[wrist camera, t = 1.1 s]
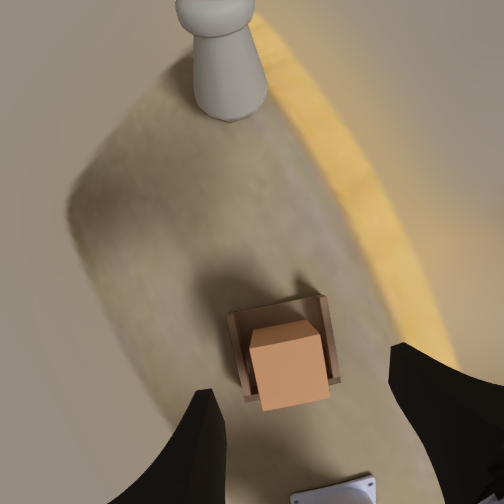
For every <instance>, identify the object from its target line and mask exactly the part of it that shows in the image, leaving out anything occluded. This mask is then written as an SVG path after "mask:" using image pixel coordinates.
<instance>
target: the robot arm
mask: <svg viewBox="0 0 504 504" xmlns="http://www.w3.org/2000/svg"><path fill="white" fill-rule="evenodd" d="M388 383H389V386H390V388H391V390H392V393H393V395H394V397H395V399H396V401H397V403H398V405H399V406H400V408H401V409H402V411H403V413H404V414H405V416H406V417H407V419H408V421H409V422H410V424H411V425H412V427H413V428H414V430H415V432H416V433H417V435H418V436H419V438H420V440H421V442H422V443H423V445H424V447H425V449H426V452H427V454H428V456H429V459H430V461H431V463H432V466H433V468H434V471H435V473H436V476H437V479H438V481H439V484H440V487H441V490H442V494H443V497H444V500H445V504H504V386H501V385H497V384H492V383H489V382H485V381H482V380H479V379H476V378H473V377H470V376H468V375H466V374H463V373H461V372H459V371H457V370H454V369H452V368H450V367H448V366H446V365H444V364H442V363H440V362H438V361H437V360H435V359H433V358H431V357H429V356H428V355H426V354H424V353H422V352H421V351H419V350H417V349H415V348H414V347H412V346H410V345H408V344H406V343H404V342H403V343H400V344H397V345H394V346H391V353H390V367H389V380H388ZM226 447H227V442H226V430H225V421H224V419H223V416H222V414H221V411H220V409H219V406H218V404H217V401H216V398H215V396H214V393H213V391H212V388H211V389H204V390H197V391H196V392H195V393H194V396H193V398H192V400H191V402H190V404H189V406H188V408H187V410H186V412H185V414H184V416H183V418H182V419H181V421H180V423H179V425H178V427H177V428H176V430H175V432H174V433H173V435H172V437H171V438H170V440H169V441H168V443H167V444H166V446H165V447H164V449H163V450H162V451H161V453H160V454H159V455H158V457H157V458H156V459H155V460H154V462H153V463H152V464H151V465H150V466H149V468H148V469H147V470H146V471H145V472H144V473H143V474H142V475H141V476H140V477H139V478H138V479H137V480H136V481H135V482H134V483H133V484H132V485H131V486H130V487H128V488H127V489H126V490H125V491H124V492H123V493H121V494H120V495H119V496H118V497H116V498H115V499H114V500H112V501H111V502H109V503H108V504H225V471H226ZM371 482H372V483H371ZM369 483H371V484H369ZM290 501H291V504H376V483H375V477H374V476H373V475H369V476H366V477H362V478H359V479H356V480H352V481H348V482H345V483H341V484H337V485H333V486H329V487H324V488H320V489H315V490H311V491H306V492H300V493H295V494H292V495H291V496H290ZM294 501H297V502H294Z"/></svg>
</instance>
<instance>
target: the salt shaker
mask: <svg viewBox="0 0 504 504" xmlns="http://www.w3.org/2000/svg"><path fill="white" fill-rule="evenodd" d="M175 5H176V12H177V16H178V19H179V22H180V24H181V26H182V27H183V28H184V29H185V30H186V31H188V32H189V33H191V34H193V35H194V44H193V78H194V95H195V99H196V102H197V105H198V106H199V107H200V108H201V109H202V110H203V111H204V112H205V113H207V114H208V115H209V116H210V117H214V118H217V119H221V120H224V121H226V122H228V123H232V122H235V121H238V120H242V119H245V118H248V117H251V116H252V115H253V114H254V113H255V112H256V111H257V109H258V108H259V107H260V106H261V104H262V103H263V102H264V101H265V97H266V91H267V85H268V83H267V80H266V77H265V74H264V71H263V68H262V64H261V61H260V58H259V55H258V52H257V49H256V47H255V44H254V41H253V38H252V35H251V32H250V29H249V26H248V23H249V22H250V21H251V19H252V16H253V12H254V8H255V0H176V2H175Z"/></svg>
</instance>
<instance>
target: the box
mask: <svg viewBox="0 0 504 504" xmlns="http://www.w3.org/2000/svg"><path fill="white" fill-rule="evenodd" d="M226 318H227V322H228V327H229V332H230V336H231V341H232V346H233V350H234V355H235V359H236V364H237V368H238V372H239V377H240V381H241V385H242V390H243V394H244V398H245V402H250V401H256V400H260V395H259V391H258V386H257V382H256V377H255V372H254V368H253V363H252V359H251V354H250V349H249V348H250V343H251V338H252V333H253V330H255V329H261V328H266V327H271V326H276V325H281V324H285V323H290V322H295V321H299V320H304V319H307V320H308V322H309V323H310V324H311V325H312V326H313V327H314V328H315V329H316V330H317V331H318V333H319V334H320V337H321V343H322V349H323V355H324V361H325V367H326V373H327V379H328V386H329V385H333V384H337V383H341V380H340V373H339V366H338V360H337V353H336V347H335V341H334V335H333V329H332V324H331V318H330V312H329V307H328V301H327V296H325V295H322V294H319V295H315V296H310V297H306V298H301V299H296V300H292V301H287V302H282V303H277V304H273V305H268V306H263V307H258V308H252V309H247V310H242V311H237V312H232V313H229V314H228V315H227V317H226Z"/></svg>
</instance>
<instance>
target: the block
mask: <svg viewBox="0 0 504 504" xmlns="http://www.w3.org/2000/svg"><path fill="white" fill-rule="evenodd" d="M249 349H250V354H251V359H252V363H253V368H254V372H255V377H256V382H257V386H258V391H259V395H260V400H261V404H262V409H263V411H268V410H273V409H279V408H284V407H289V406H294V405H299V404H304V403H308V402H313V401H317V400H321V399H325V398H329V397H330V392H329V386H328V379H327V373H326V367H325V361H324V355H323V349H322V343H321V337H320V334H319V333H318V331H317V330H316V329H315V328H314V327H313V326H312V325H311V324H310V323H309V322H308V320H307V319H304V320H299V321H295V322H290V323H285V324H281V325H276V326H271V327H266V328H261V329H255V330H253V333H252V338H251V343H250V348H249Z"/></svg>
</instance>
